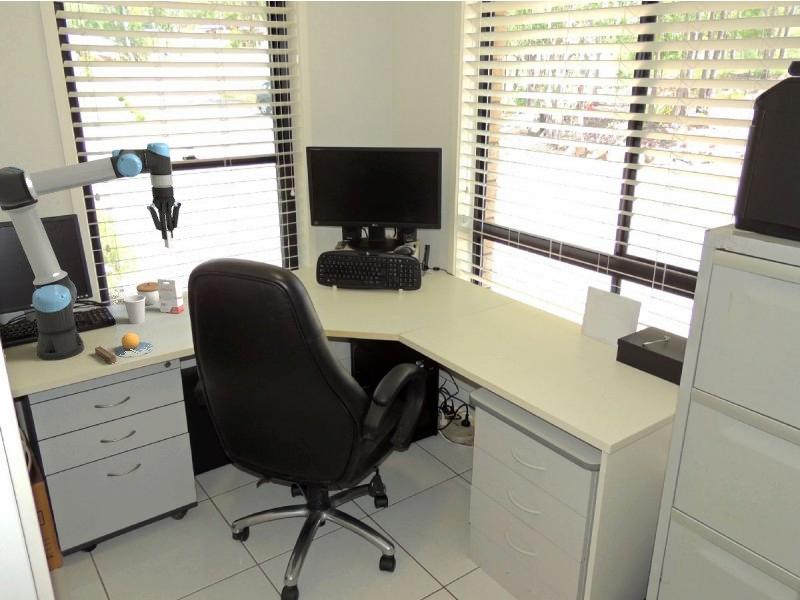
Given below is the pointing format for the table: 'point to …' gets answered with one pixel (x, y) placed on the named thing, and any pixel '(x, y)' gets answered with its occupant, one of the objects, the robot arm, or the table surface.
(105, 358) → the strip
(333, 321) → the table surface
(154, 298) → the lidded jar
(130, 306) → the dixie cup
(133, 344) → the ball
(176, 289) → the ink cartridge box
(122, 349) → the slate mark
